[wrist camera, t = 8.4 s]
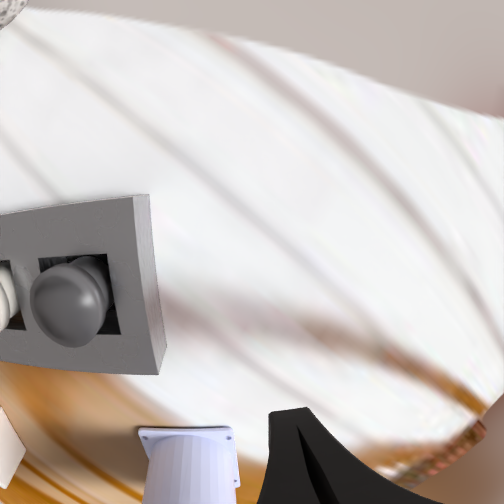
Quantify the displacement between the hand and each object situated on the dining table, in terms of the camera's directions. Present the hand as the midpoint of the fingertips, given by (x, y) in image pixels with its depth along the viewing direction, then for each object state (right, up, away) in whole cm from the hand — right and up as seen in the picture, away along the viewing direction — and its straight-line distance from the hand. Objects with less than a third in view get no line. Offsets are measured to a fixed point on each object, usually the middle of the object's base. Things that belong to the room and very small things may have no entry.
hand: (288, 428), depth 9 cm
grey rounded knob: (-11, +4, +7) cm, 14 cm away
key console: (-18, +4, +8) cm, 20 cm away
